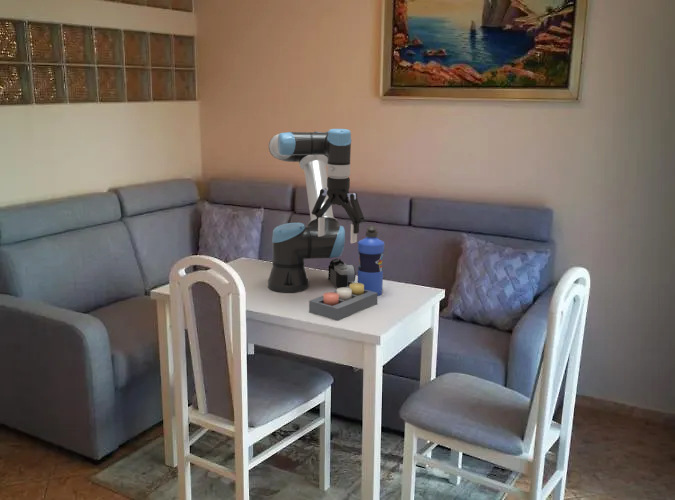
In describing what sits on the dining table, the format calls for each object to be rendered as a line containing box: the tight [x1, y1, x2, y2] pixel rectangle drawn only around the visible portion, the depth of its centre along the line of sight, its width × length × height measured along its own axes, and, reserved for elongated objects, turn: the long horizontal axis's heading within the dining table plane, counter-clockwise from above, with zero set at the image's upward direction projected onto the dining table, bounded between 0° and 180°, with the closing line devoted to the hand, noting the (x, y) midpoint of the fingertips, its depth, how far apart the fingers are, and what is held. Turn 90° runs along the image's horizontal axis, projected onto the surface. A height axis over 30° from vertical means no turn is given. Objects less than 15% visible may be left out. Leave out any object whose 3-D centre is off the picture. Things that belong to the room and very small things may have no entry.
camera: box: [327, 257, 357, 290], centre depth 251 cm, size 16×9×10 cm, turn 16°
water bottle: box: [357, 224, 385, 297], centre depth 240 cm, size 9×9×25 cm
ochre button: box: [349, 282, 364, 296], centre depth 231 cm, size 5×5×3 cm
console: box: [308, 285, 379, 322], centre depth 226 cm, size 12×22×4 cm, turn 141°
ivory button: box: [336, 287, 352, 301], centre depth 225 cm, size 5×5×3 cm
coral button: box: [322, 291, 339, 306], centre depth 220 cm, size 5×5×3 cm
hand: (337, 239), depth 226 cm, fingers open, 13 cm apart
